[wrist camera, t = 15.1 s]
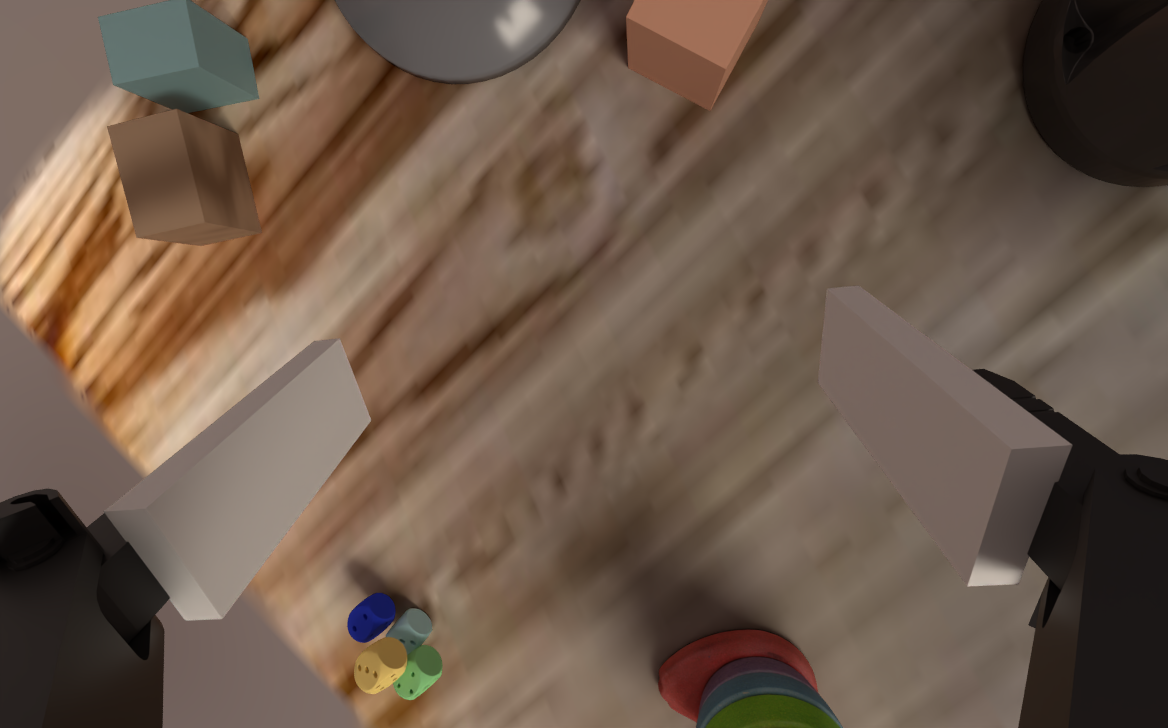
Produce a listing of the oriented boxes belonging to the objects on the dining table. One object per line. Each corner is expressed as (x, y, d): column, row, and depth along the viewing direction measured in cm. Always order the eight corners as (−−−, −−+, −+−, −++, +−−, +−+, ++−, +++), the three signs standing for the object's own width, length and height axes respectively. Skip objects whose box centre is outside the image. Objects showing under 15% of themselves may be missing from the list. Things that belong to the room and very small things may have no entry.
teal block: (248, 39, 35) (184, -4, 30) (260, 99, 36) (199, 66, 31) (172, 56, 36) (98, 17, 31) (184, 114, 36) (113, 85, 31)
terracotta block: (674, -23, 32) (683, -98, 26) (758, 20, 32) (786, -44, 26) (628, 68, 33) (626, 17, 27) (709, 111, 32) (725, 69, 27)
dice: (364, 597, 40) (312, 654, 33) (384, 575, 39) (335, 628, 33) (439, 665, 40) (402, 734, 33) (460, 644, 39) (426, 710, 33)
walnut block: (178, 149, 37) (107, 126, 32) (239, 135, 36) (176, 108, 31) (202, 246, 37) (136, 237, 33) (263, 233, 37) (205, 222, 32)
